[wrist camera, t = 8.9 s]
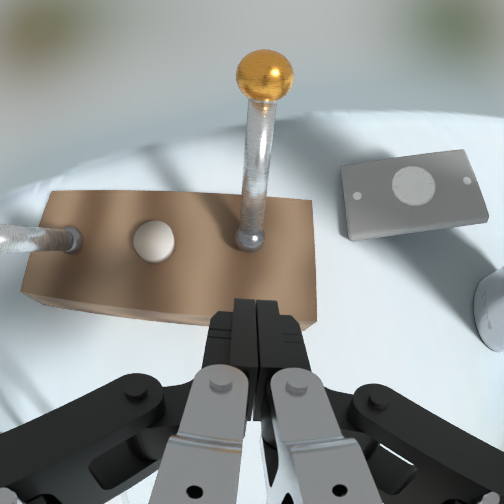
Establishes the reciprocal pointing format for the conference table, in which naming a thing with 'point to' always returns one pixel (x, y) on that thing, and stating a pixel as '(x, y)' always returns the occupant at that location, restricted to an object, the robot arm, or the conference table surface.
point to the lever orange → (259, 137)
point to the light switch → (411, 195)
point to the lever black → (39, 239)
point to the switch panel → (173, 256)
